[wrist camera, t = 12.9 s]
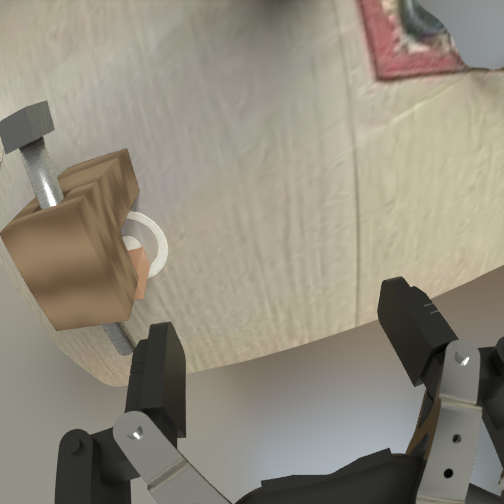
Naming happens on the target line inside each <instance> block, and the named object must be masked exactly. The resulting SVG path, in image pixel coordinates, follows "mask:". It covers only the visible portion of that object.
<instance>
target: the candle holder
mask: <svg viewBox="0 0 504 504" xmlns="http://www.w3.org/2000/svg"><path fill="white" fill-rule="evenodd" d="M126 219H131V220H135V221H138V222H140V223H142V224H144V225H145V226H147V227H148V228H149V229H150V230H151V231H152V233H153V234H154V236H155V237H156V240H157V243H158V253H157V257H156V259H155V260H154V262H153V263H152V264H151V266H150V270H149V275H148V278H151V277H153V276H154V275H156V274H157V273H158V272H159V271H160V270H161V269H162V268H163V266H164V265H165V263H166V260H167V257H168V244H167V240H166V237H165V235H164V233H163V232H162V230H161V229H160V227H159V226H158V225H157V224H156V223H155V222H154V221H152V220H151V219H150V218H148V217H147V216H145V215H143V214H141V213H139V212H134V211H129V213H128V215H127V217H126ZM122 238H123V241H124V243H125V246H126V248H127V250H132V249H136V248H141V245H140V243H139V242H138V241H137V240H136V239H135V238H133V237H131V236H122Z"/></svg>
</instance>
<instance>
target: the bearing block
mask: <svg viewBox="0 0 504 504" xmlns="http://www.w3.org/2000/svg"><path fill="white" fill-rule="evenodd" d="M57 180H58V183H59V185H60V188H61V191H62V193H63V196H64V199H63V200H62V201H61V202H60V203H59V204H57V205H54V206H51V207H48V208H46V209H43V210H42V209H41V207H40V205H39V202H38V200H37V197H35V198H34V199H33V200H32V201H31V202H30V203H29V204H28V205H27V206H26V207H25V208H24V209H23V210H22V211H21V212H20V213H19V214H18V215H17V216H16V217H15V218H14V219H13V220H12V221H11V222H10V223H9V224H8V225H7V226H6V227H5V228H4V229H3V230H2V231H1V232H0V236H1V238H2V240H3V242H4V244H5V246H6V248H7V250H8V252H9V254H10V255H11V257H12V259H13V261H14V263H15V265H16V267H17V268H18V270H19V272H20V274H21V276H22V277H23V279H24V281H25V282H26V284H27V286H28V288H29V289H30V291H31V293H32V294H33V296H34V297H35V299H36V301H37V302H38V304H39V305H40V307H41V309H42V310H43V312H44V313H45V315H46V316H47V318H48V319H49V321H50V322H51V324H52V325H53V326H54V328H55V329H56V331H59V330H66V329H74V328H81V327H88V326H95V325H101V324H108V323H114V322H121V321H127V320H129V318H130V314H131V309H132V305H133V301H134V296H135V292H136V288H137V284H138V280H139V276H138V274H137V272H136V269H135V267H134V265H133V262H132V260H131V258H130V255H129V253H128V250H127V248H126V246H125V243H124V241H123V238H122V236H121V233H120V230H121V228H122V226H123V223H124V221H125V219H126V217H127V215H128V213H129V211H130V209H131V207H132V205H133V203H134V201H135V199H136V197H137V195H138V193H139V191H140V190H139V187H138V183H137V180H136V177H135V174H134V170H133V167H132V164H131V160H130V157H129V153H128V150H127V148H126V149H123V150H120V151H116V152H113V153H110V154H107V155H104V156H101V157H98V158H95V159H92V160H89V161H86V162H83V163H80V164H77V165H74V166H72V167H69V168H67V169H66V170H65V171H64V172H63V173H61V174H60V175H59V176H58V177H57Z"/></svg>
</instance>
